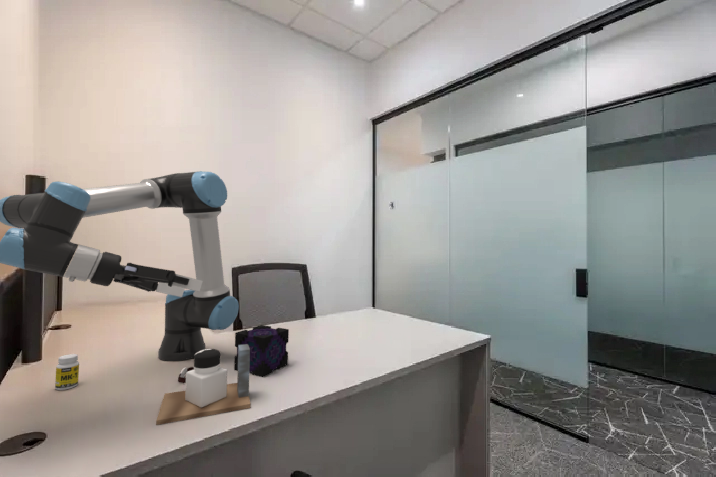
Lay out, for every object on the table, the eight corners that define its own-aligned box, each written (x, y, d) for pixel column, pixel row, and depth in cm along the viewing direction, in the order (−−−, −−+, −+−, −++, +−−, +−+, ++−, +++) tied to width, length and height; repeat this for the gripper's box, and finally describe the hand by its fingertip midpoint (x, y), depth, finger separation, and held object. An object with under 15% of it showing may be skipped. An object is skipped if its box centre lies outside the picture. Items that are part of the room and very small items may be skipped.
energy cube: (260, 358, 114) (261, 324, 114) (287, 364, 109) (288, 329, 109) (234, 370, 103) (235, 332, 103) (262, 377, 98) (263, 338, 98)
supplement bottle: (58, 392, 86) (59, 360, 86) (52, 387, 88) (53, 357, 88) (81, 385, 90) (82, 355, 90) (74, 381, 92) (75, 352, 92)
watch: (187, 374, 100) (188, 362, 100) (202, 374, 100) (203, 362, 100) (173, 384, 92) (173, 372, 92) (189, 385, 92) (189, 372, 92)
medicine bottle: (227, 397, 83) (228, 350, 83) (201, 408, 77) (202, 358, 77) (210, 389, 87) (212, 345, 87) (184, 400, 81) (186, 352, 81)
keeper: (156, 425, 71) (158, 366, 72) (164, 397, 84) (166, 347, 84) (250, 407, 80) (251, 355, 80) (245, 385, 92) (246, 339, 93)
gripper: (81, 289, 80) (172, 307, 93) (96, 273, 63) (204, 298, 76) (94, 260, 83) (180, 282, 96) (111, 239, 66) (213, 268, 79)
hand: (191, 289), depth 86 cm, fingers open, 13 cm apart
